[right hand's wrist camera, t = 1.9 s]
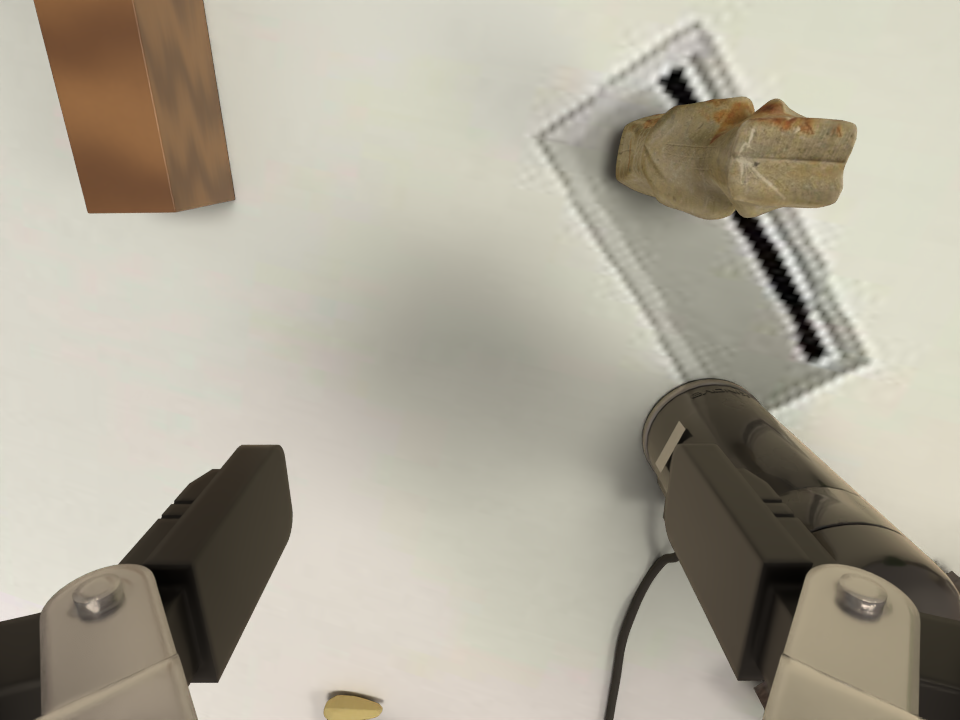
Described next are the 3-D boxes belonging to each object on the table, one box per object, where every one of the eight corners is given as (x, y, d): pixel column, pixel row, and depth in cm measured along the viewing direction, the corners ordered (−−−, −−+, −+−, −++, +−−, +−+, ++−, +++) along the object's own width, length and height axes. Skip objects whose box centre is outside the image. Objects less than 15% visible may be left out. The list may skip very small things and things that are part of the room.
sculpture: (703, 210, 37) (837, 247, 23) (598, 195, 37) (672, 223, 23) (728, 117, 35) (893, 97, 21) (618, 99, 35) (713, 67, 21)
